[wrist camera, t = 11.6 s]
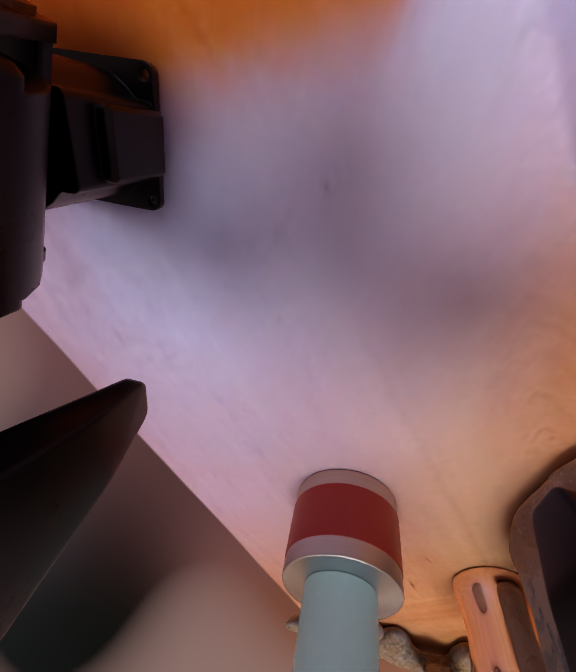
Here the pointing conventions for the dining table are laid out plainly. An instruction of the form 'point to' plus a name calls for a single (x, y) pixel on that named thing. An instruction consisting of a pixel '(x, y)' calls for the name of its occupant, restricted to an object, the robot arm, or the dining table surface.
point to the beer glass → (497, 621)
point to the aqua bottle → (337, 625)
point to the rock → (412, 651)
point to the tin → (346, 535)
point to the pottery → (539, 568)
